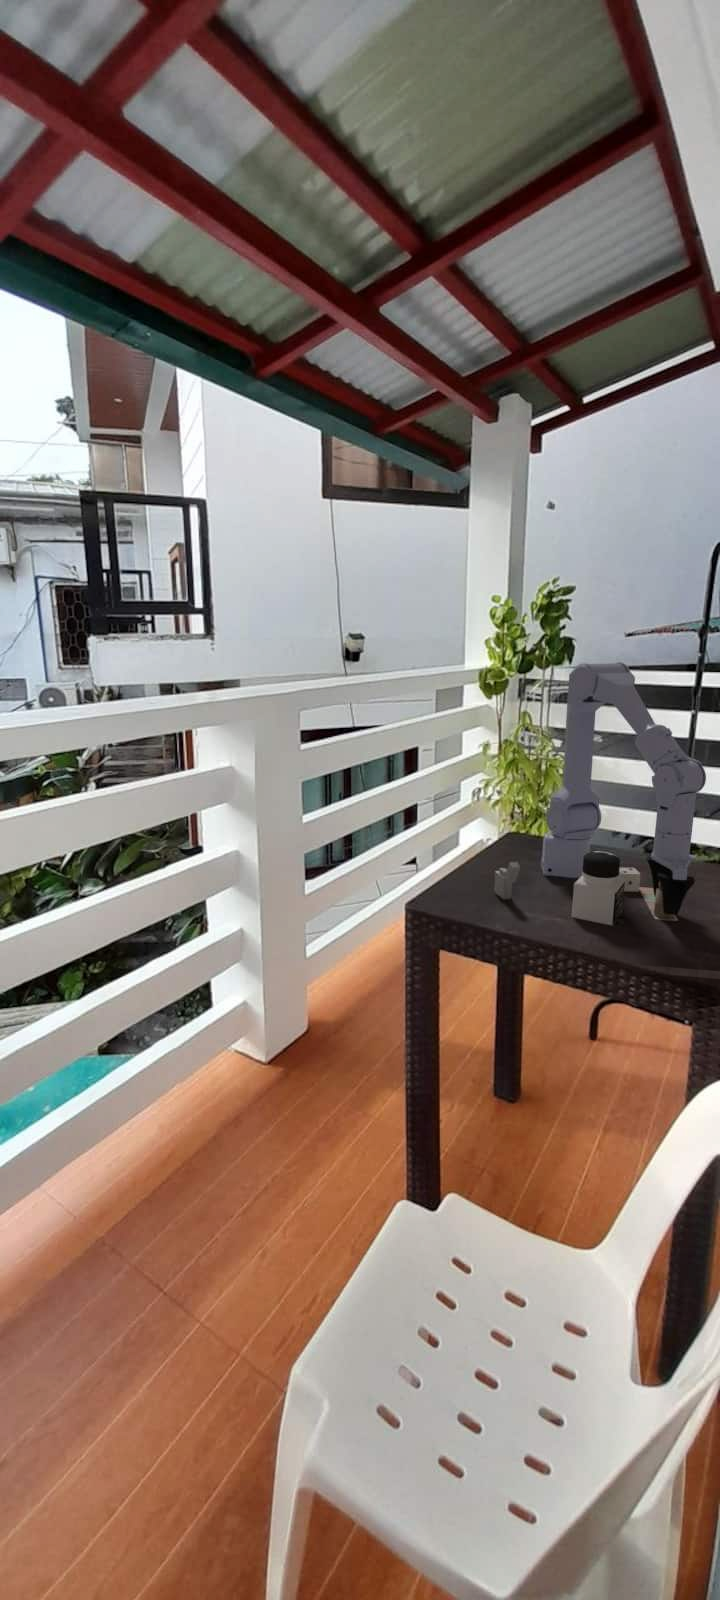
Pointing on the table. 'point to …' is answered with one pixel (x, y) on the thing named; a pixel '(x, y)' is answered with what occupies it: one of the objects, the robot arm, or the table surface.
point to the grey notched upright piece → (506, 880)
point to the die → (630, 878)
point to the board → (650, 897)
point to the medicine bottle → (599, 889)
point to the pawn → (660, 905)
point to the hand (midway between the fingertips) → (665, 905)
